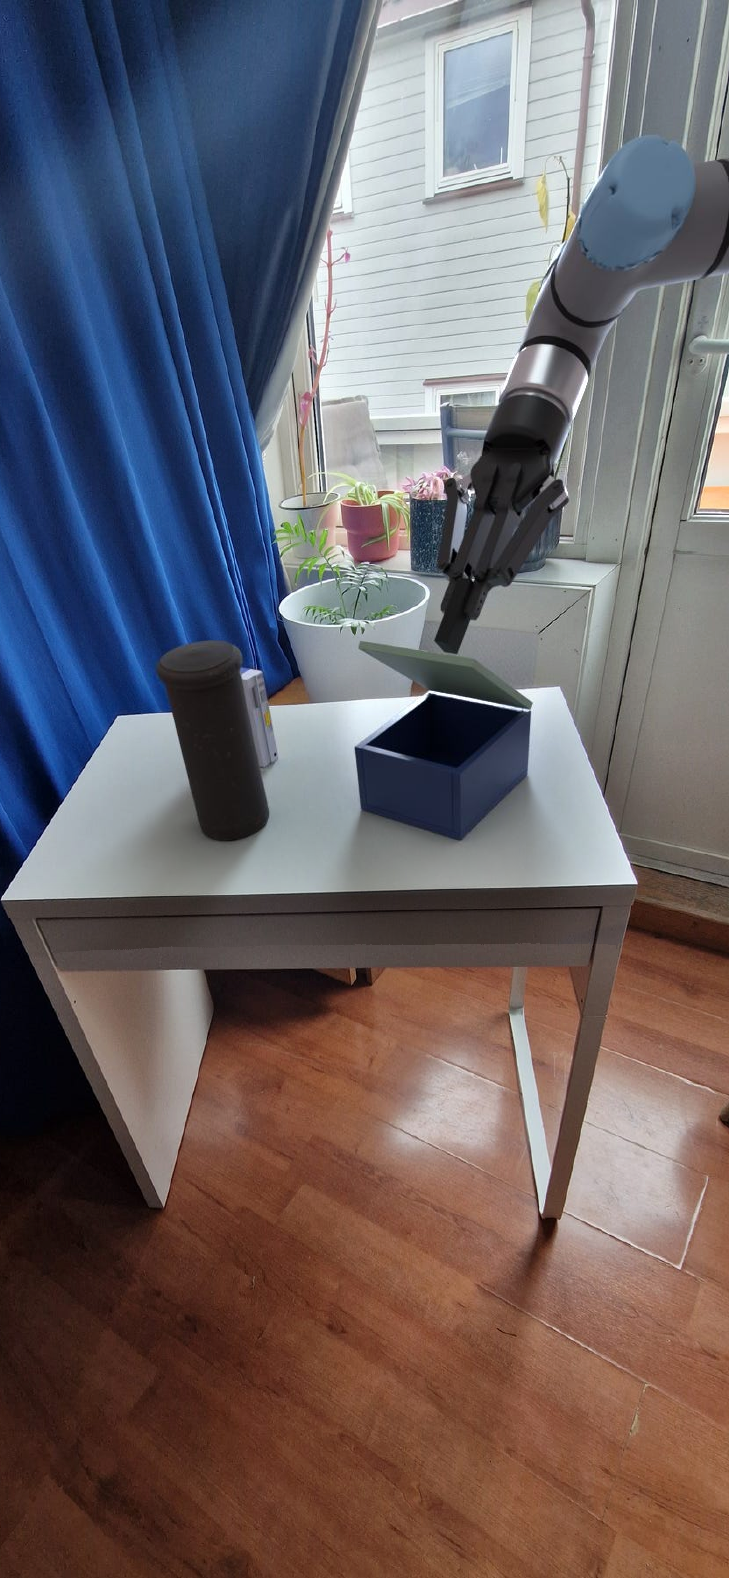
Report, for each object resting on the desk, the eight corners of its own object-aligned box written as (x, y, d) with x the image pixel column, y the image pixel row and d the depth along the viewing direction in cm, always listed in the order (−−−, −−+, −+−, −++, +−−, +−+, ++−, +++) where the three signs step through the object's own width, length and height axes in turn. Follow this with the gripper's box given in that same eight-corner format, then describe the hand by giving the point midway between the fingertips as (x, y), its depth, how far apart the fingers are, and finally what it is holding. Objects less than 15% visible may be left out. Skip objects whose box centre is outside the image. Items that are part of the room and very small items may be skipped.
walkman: (220, 756, 99) (199, 668, 91) (234, 746, 101) (215, 659, 93) (265, 768, 95) (247, 677, 87) (279, 758, 96) (263, 668, 89)
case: (460, 840, 78) (460, 774, 73) (360, 809, 85) (354, 746, 80) (527, 774, 86) (531, 710, 81) (431, 751, 93) (429, 690, 88)
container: (277, 797, 89) (246, 629, 76) (267, 841, 82) (230, 664, 70) (207, 801, 91) (164, 637, 78) (191, 845, 84) (142, 672, 71)
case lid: (472, 667, 68) (474, 658, 67) (357, 648, 75) (360, 640, 74) (530, 710, 80) (533, 702, 80) (428, 690, 87) (430, 683, 87)
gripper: (606, 441, 73) (517, 672, 75) (486, 443, 80) (407, 654, 82) (589, 385, 67) (491, 639, 69) (460, 393, 74) (375, 622, 76)
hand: (445, 647), depth 75 cm, fingers closed
